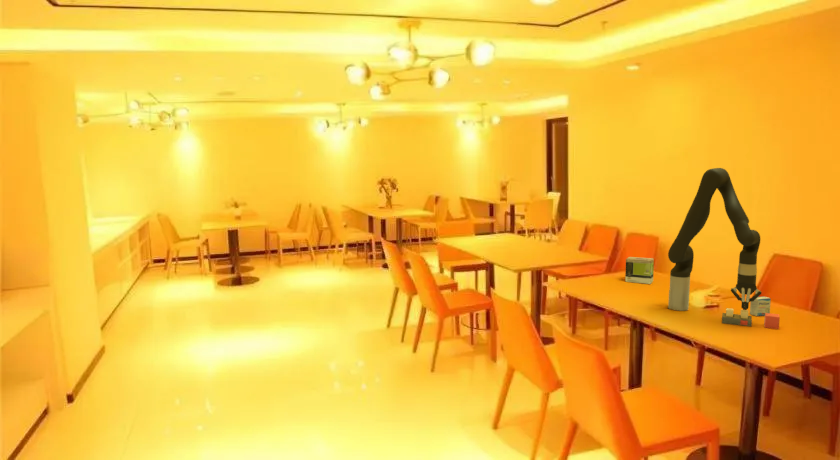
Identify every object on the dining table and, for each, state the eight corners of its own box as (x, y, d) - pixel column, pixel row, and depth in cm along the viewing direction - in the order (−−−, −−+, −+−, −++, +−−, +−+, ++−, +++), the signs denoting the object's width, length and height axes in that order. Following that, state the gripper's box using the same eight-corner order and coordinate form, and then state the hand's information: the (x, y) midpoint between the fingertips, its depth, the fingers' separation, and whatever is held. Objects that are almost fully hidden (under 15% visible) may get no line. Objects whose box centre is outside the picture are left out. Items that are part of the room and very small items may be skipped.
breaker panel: (721, 323, 264) (722, 317, 263) (722, 318, 271) (722, 312, 271) (751, 326, 258) (751, 320, 258) (750, 322, 265) (751, 315, 265)
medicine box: (756, 316, 274) (758, 299, 273) (749, 314, 278) (750, 297, 277) (769, 315, 276) (771, 298, 275) (762, 312, 280) (763, 295, 279)
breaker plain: (725, 318, 265) (726, 309, 265) (725, 317, 268) (726, 308, 267) (732, 319, 264) (733, 310, 263) (732, 318, 266) (733, 308, 266)
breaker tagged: (740, 320, 262) (740, 311, 262) (740, 318, 265) (740, 309, 264) (747, 321, 261) (748, 312, 260) (747, 319, 263) (748, 310, 263)
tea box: (653, 281, 351) (654, 258, 349) (650, 284, 343) (651, 260, 341) (628, 278, 359) (629, 256, 357) (624, 281, 351) (625, 258, 349)
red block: (764, 327, 257) (765, 315, 256) (764, 324, 261) (765, 312, 261) (778, 329, 254) (779, 317, 253) (777, 325, 259) (778, 314, 258)
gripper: (730, 273, 260) (728, 309, 262) (764, 275, 253) (761, 313, 256) (730, 270, 266) (728, 306, 269) (763, 272, 260) (761, 309, 262)
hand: (744, 309), depth 262 cm, fingers closed
